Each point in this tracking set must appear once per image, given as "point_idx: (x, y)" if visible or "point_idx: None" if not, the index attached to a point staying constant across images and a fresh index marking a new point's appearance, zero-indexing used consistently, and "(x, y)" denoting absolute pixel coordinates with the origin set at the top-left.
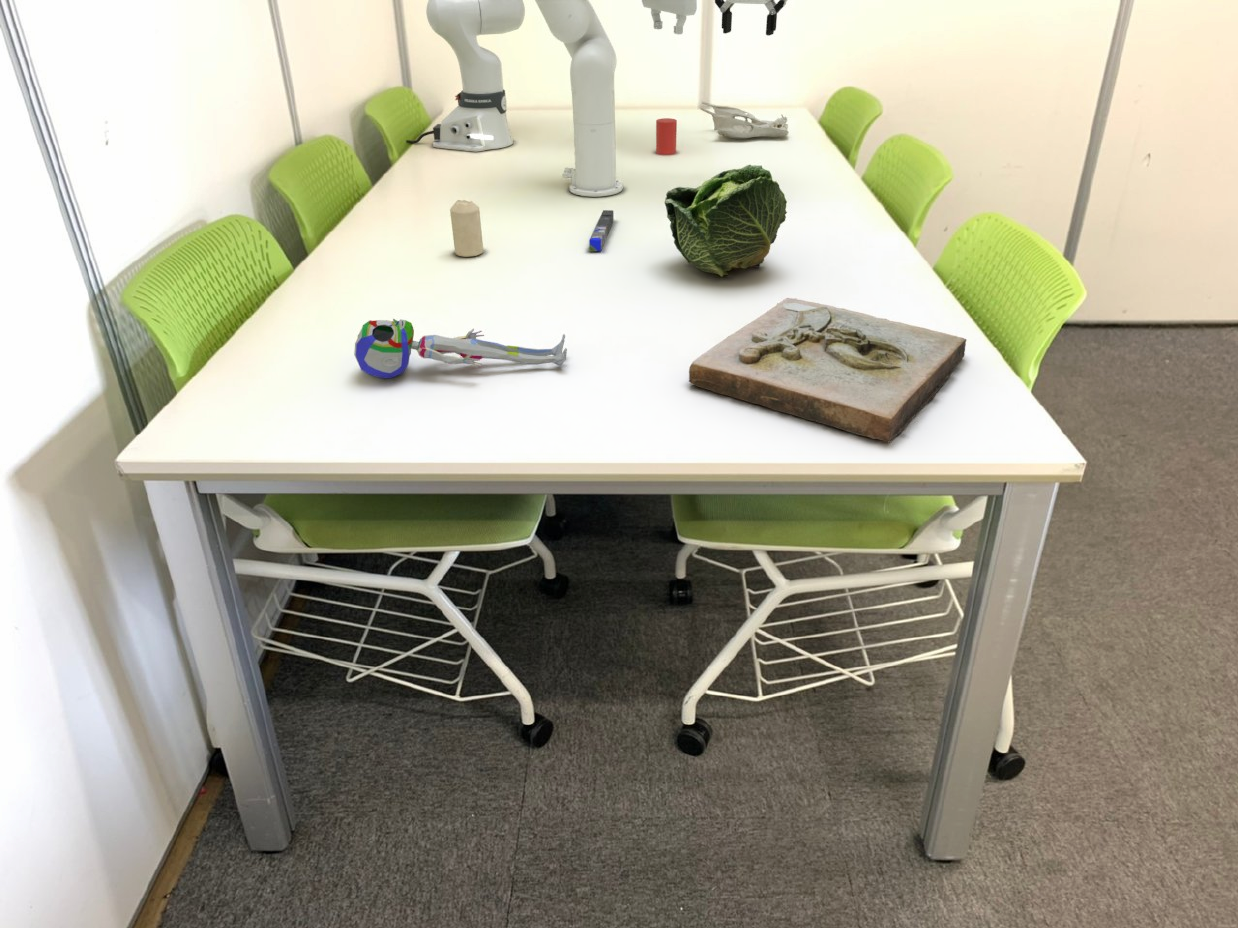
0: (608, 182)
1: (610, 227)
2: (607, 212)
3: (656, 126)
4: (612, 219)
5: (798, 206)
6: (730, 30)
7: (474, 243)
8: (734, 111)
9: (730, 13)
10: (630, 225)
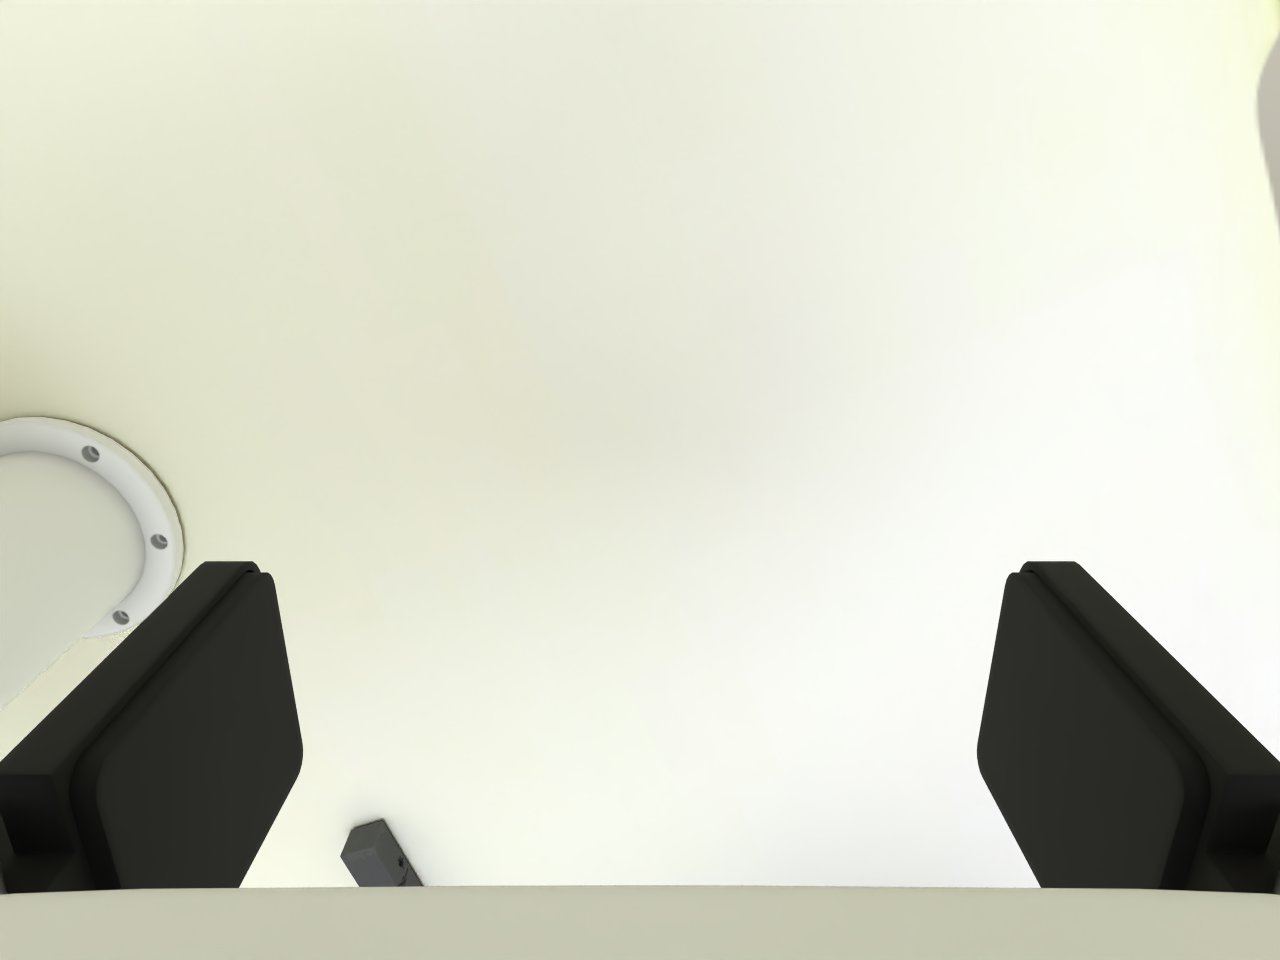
0: (127, 582)
1: (416, 878)
2: (368, 869)
3: None
4: (391, 849)
5: (961, 404)
6: (268, 609)
7: None
8: None
9: (118, 851)
10: (455, 827)
